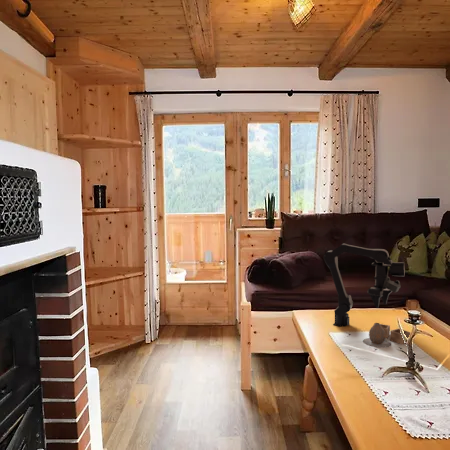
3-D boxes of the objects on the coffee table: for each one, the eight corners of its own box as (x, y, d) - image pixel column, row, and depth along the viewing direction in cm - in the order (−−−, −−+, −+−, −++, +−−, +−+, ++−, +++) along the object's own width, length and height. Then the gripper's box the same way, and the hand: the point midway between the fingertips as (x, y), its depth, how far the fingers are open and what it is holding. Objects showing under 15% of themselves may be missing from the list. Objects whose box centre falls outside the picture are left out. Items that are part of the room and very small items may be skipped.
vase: (386, 345, 169) (387, 326, 168) (370, 344, 170) (370, 325, 170) (383, 340, 176) (383, 321, 175) (367, 339, 177) (368, 320, 176)
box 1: (373, 337, 181) (374, 326, 181) (376, 333, 186) (376, 323, 186) (387, 339, 178) (387, 329, 178) (389, 335, 183) (389, 325, 183)
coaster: (358, 344, 173) (358, 342, 172) (369, 337, 181) (369, 336, 181) (385, 351, 164) (385, 349, 164) (395, 343, 173) (395, 342, 173)
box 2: (390, 341, 176) (390, 330, 175) (398, 339, 179) (398, 328, 178) (402, 345, 170) (402, 334, 170) (410, 343, 174) (410, 332, 173)
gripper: (390, 280, 177) (390, 313, 178) (405, 274, 190) (404, 305, 191) (367, 276, 184) (366, 308, 185) (383, 271, 198) (382, 301, 199)
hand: (381, 305), depth 190 cm, fingers open, 9 cm apart
